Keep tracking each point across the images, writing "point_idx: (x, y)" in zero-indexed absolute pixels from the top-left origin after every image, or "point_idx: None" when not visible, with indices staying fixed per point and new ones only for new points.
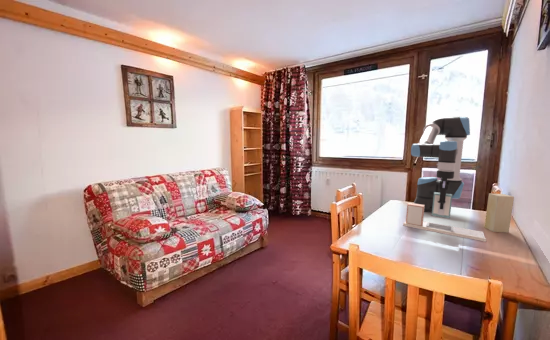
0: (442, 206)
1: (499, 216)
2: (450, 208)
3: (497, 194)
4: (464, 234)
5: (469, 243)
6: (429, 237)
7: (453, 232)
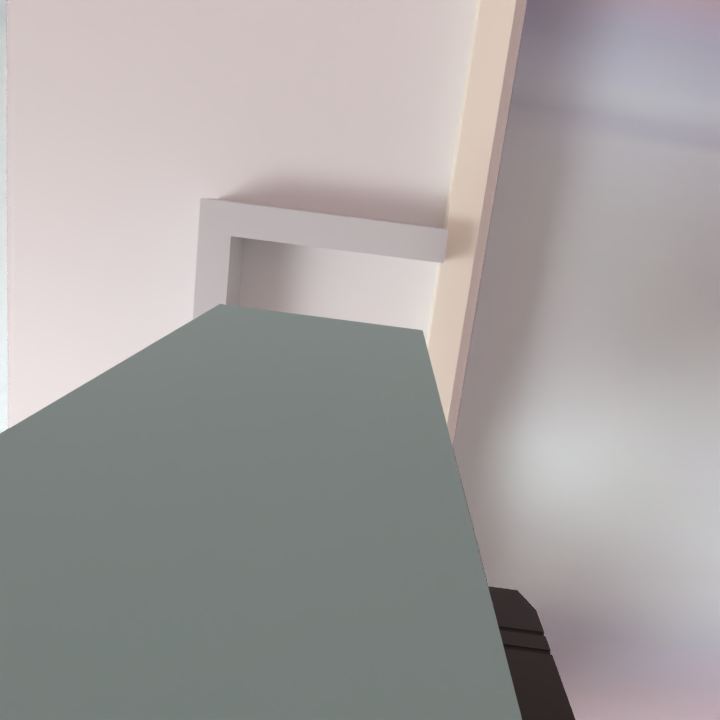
0: (550, 678)
1: None
2: (435, 409)
3: None
4: (484, 71)
5: (605, 34)
6: (607, 504)
7: (465, 227)
